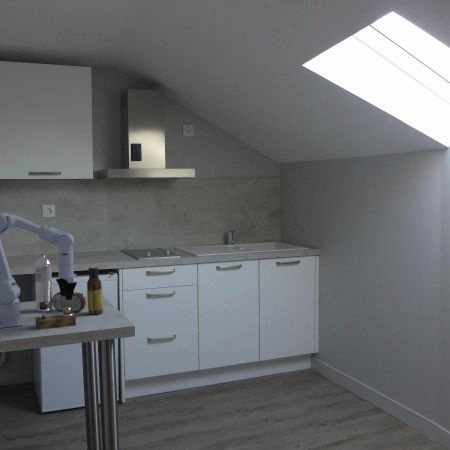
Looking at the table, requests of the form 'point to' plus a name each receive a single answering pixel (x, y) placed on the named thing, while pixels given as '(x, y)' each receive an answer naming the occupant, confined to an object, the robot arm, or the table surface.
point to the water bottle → (43, 281)
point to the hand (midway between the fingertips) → (66, 298)
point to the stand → (54, 321)
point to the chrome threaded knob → (43, 308)
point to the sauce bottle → (94, 292)
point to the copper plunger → (66, 312)
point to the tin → (69, 302)
